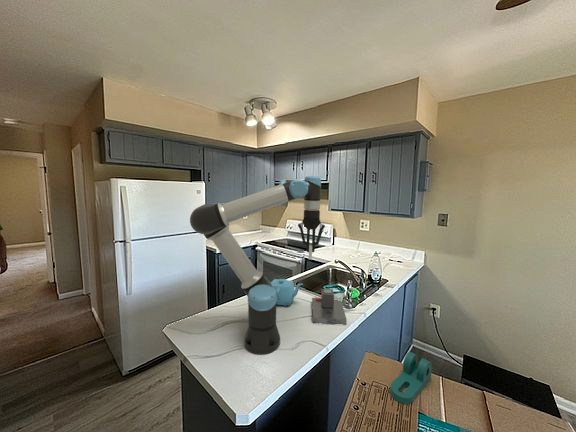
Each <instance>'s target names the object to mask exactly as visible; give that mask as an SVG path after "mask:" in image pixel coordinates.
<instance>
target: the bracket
mask: <svg viewBox="0 0 576 432" xmlns="http://www.w3.org/2000/svg"><path fill="white" fill-rule="evenodd" d="M432 365H433V364H432V362H431V361H430V360H427V358H426V359H425V358H424V357H423V358H421V360H419V356H418V354H415V353H413V352H411V351H409V352H407V353H406V354H405V357H404V360H403V366H402V372H401V373H400V374H399V375H398V376H397V377H396V378H395V379H394V380H393V381H392V382H391V383H390V388H389V389H390V390H389V393H390V396H391V397H392V399H393V400H395V401H396V402H397V403H400V404H404V405H410V404H412V403H413V402H414V400H416V398H417V397H418V395H419V394H420V393H421V392H422V391H423V389H424V388H425V387H426V386H427V385H428V383H429V382H430V380H431V379H432V370H433V369H432V368H433V366H432ZM404 388H406V389H405V390H404ZM403 390H404V391H403ZM402 391H403V392H402Z"/></svg>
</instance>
